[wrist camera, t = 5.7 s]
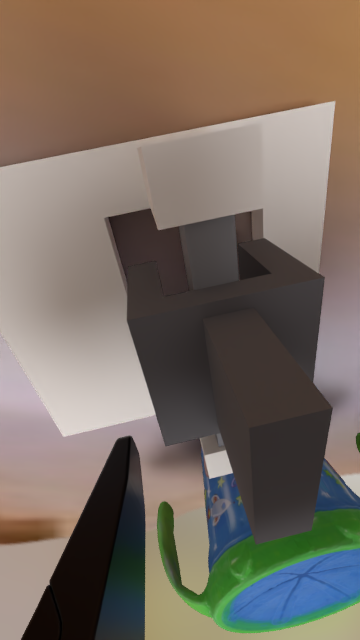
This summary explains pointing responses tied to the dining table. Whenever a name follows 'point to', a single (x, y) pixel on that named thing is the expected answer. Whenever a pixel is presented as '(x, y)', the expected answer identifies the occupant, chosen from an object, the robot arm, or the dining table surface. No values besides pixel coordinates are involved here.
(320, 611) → the snack cup
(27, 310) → the white square base
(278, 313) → the bracket
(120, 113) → the dining table surface
